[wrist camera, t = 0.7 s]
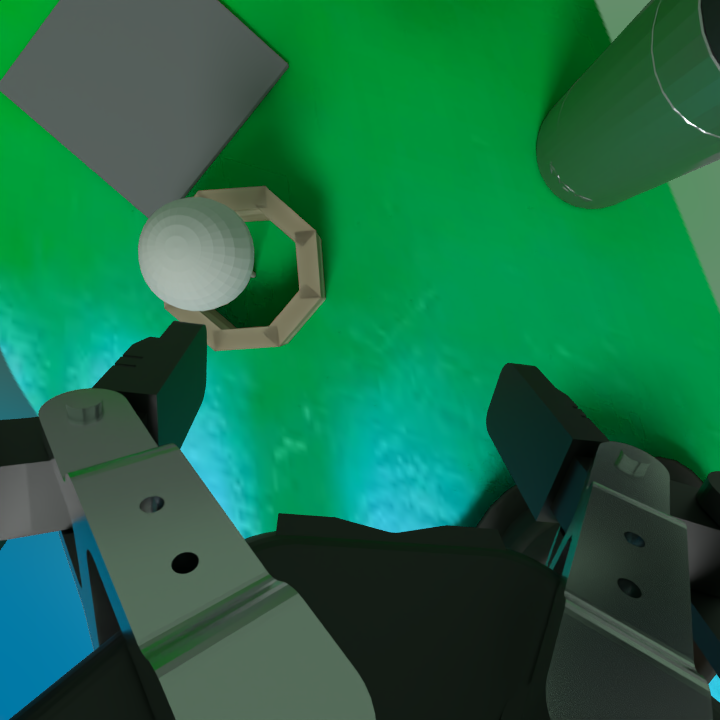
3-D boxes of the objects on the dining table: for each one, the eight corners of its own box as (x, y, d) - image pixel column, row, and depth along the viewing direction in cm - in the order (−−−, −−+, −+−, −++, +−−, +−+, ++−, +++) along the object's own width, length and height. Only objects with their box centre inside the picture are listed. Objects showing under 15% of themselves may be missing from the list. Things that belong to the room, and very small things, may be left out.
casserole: (652, 398, 37) (736, 423, 29) (745, 584, 39) (850, 658, 30) (387, 538, 39) (394, 600, 30) (488, 711, 40) (520, 815, 32)
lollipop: (259, 221, 36) (185, 155, 21) (305, 279, 36) (265, 256, 21) (200, 269, 36) (86, 239, 21) (246, 327, 37) (167, 336, 22)
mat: (125, -81, 34) (123, -86, 33) (288, 66, 35) (287, 64, 34) (0, 89, 35) (-5, 87, 35) (160, 227, 36) (158, 226, 36)
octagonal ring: (243, 171, 36) (228, 153, 32) (352, 267, 36) (351, 262, 32) (154, 281, 36) (128, 278, 33) (262, 373, 37) (250, 380, 33)
